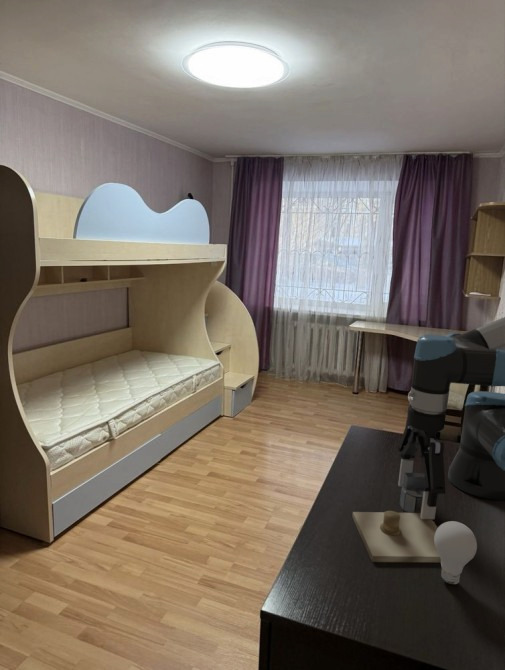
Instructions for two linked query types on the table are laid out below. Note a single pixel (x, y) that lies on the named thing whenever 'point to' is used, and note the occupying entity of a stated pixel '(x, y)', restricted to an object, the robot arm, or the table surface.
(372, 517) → the socket base
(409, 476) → the dark grey rounded piece
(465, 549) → the light bulb
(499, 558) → the table surface
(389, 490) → the table surface
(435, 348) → the robot arm
